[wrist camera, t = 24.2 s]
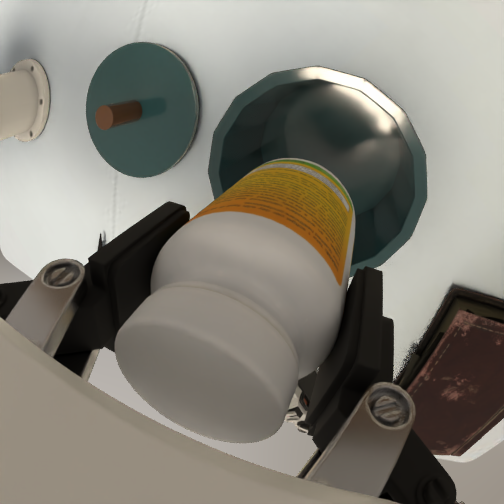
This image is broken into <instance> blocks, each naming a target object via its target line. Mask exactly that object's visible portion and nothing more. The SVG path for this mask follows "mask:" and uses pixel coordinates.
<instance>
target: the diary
mask: <svg viewBox="0 0 504 504" xmlns="http://www.w3.org/2000/svg"><path fill="white" fill-rule="evenodd" d="M393 384H395V385H397V386H400V387H401V388H402V389H404V390H405V391H406V392H407V393H408V394H409V395H410V397H411V398H412V400H413V402H414V404H415V409H416V416H415V421H414V423H413V426H412V429H413V430H414V431H415V433H416V434H417V435H418V436H419V438H420V439H421V440H422V441H423V443H424V444H425V445H426V446H427V448H428V449H429V450H430V452H431V453H432V454H433V455H450V454H451V455H452V456H461V455H462V454H464V453H465V452H466V451H467V450H468V449H469V448H470V447H472V446H473V445H474V444H475V443H476V442H477V441H478V440H479V439H481V438H482V437H483V436H484V435H485V434H486V433H487V432H488V431H489V430H491V429H492V428H493V427H494V426H495V425H496V424H498V423H499V422H500V421H501V420H502V419H503V418H504V301H502V300H499V299H496V298H492V297H489V296H486V295H482V294H478V293H475V292H471V291H467V290H464V289H460V288H453V289H452V290H451V292H450V293H449V294H448V296H447V298H446V300H445V302H444V303H443V305H442V307H441V309H440V310H439V312H438V314H437V315H436V317H435V319H434V321H433V322H432V324H431V325H430V327H429V329H428V330H427V332H426V334H425V336H424V337H423V339H422V341H421V343H420V344H419V346H418V348H417V349H416V351H415V353H414V354H413V353H412V355H411V358H410V360H409V363H408V364H407V366H406V367H405V369H404V370H403V371H402V373H401V374H400V375H399V376H398V378H397V379H396V380H395V382H394V383H393Z"/></svg>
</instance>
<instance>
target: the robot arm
mask: <svg viewBox="0 0 504 504" xmlns="http://www.w3.org/2000/svg"><path fill="white" fill-rule="evenodd" d="M49 101H50V96H49V86H48V81H47V77H46V74H45V72H44V70H43V68H42V66H41V65H40V64H39V63H38V62H37V61H35V60H33V59H25V60H21V61H19V62H18V63H16V64H15V65H14V67H13V68H12V69H11V71H10V72H8V73H3V74H0V141H1V140H3V139H6V138H9V137H12V136H14V137H15V138H17V139H18V140H19V141H22V142H28V141H31V140H33V139H35V138H37V137H38V136H39V135H40V133H41V132H42V130H43V128H44V126H45V123H46V120H47V117H48V111H49ZM189 219H190V214H189V212H188V211H186V207H185V206H183V205H180V204H177V203H174V202H170V201H169V202H167V203H165V204H164V205H162V206H161V207H159V208H158V209H156V210H155V211H153V212H152V213H150V214H149V215H147V216H146V217H144V218H143V219H142V220H140V221H139V222H137V223H136V224H134V225H133V226H132V227H130V228H129V229H127V230H126V231H124V232H123V233H122V234H120V235H119V236H117V237H116V238H115V239H113V240H112V241H111V242H109V243H108V244H106V245H105V246H104V247H102V248H101V249H100V250H98V251H97V252H96V253H94V254H93V255H92V256H90V257H89V258H88V260H89V262H88V263H87V264H86V265H85V266H83V264H81V263H80V262H79V261H76V260H73V259H58V260H55V261H52V262H50V263H49V264H47V265H46V266H45V267H43V268H42V270H41V271H40V272H39V273H38V275H37V276H36V277H35V279H34V280H31V281H23V282H14V283H5V284H0V504H465V503H464V502H463V501H461V502H460V503H458V502H457V501H456V488H455V484H454V482H453V480H452V479H451V477H450V476H449V475H448V473H447V472H446V471H445V469H444V468H443V467H442V466H441V464H440V463H439V462H438V461H437V459H436V458H435V457H434V455H433V454H432V453H431V452H430V450H429V449H428V448H427V446H426V445H425V444H424V443H423V441H422V440H421V439H420V438H419V436H418V435H417V434H416V433H415V431H414V430H413V429H412V426H413V423H414V421H415V416H416V409H415V404H414V402H413V400H412V398H411V397H410V395H409V394H408V393H407V392H406V391H405V390H404V389H402V388H401V387H400V386H397V385H395V384H393V361H394V324H393V320H392V319H390V318H387V317H384V316H382V315H383V275H382V271H379V270H376V269H373V268H370V267H368V266H365V267H364V269H363V270H362V269H359V268H357V270H356V272H355V274H354V277H353V279H352V281H351V284H350V286H349V288H348V290H347V294H346V301H345V307H344V313H343V318H342V322H341V327H340V330H339V333H338V337H337V339H336V342H335V344H334V347H333V349H332V350H331V352H330V354H329V355H328V357H327V358H326V359H325V360H324V362H323V363H322V364H321V365H320V366H319V370H318V374H317V378H316V381H315V385H314V389H313V392H312V396H311V400H310V403H309V407H308V410H307V414H306V417H305V423H306V424H310V427H309V430H308V435H311V436H313V439H312V440H313V441H314V443H315V444H316V446H317V447H318V448H317V450H316V451H315V452H314V454H313V455H312V456H311V458H310V459H309V460H308V462H307V463H306V464H305V466H304V467H303V468H302V470H301V471H300V472H299V473H298V475H297V476H296V477H294V476H290V475H287V474H283V473H281V472H277V471H274V470H271V469H268V468H265V467H262V466H259V465H256V464H254V463H251V462H248V461H245V460H242V459H240V458H237V457H235V456H232V455H229V454H227V453H224V452H222V451H219V450H217V449H214V448H212V447H210V446H208V445H205V444H203V443H201V442H198V441H196V440H194V439H192V438H189V437H187V436H185V435H183V434H181V433H179V432H176V431H174V430H172V429H170V428H168V427H166V426H164V425H162V424H160V423H158V422H156V421H154V420H152V419H150V418H148V417H147V416H145V415H143V414H141V413H139V412H137V411H135V410H134V409H132V408H130V407H128V406H127V405H125V404H123V403H121V402H119V401H118V400H116V399H115V398H113V397H111V396H109V395H108V394H106V393H105V392H103V391H101V390H100V389H98V388H96V387H95V386H93V385H92V384H90V383H89V382H88V379H89V377H90V374H91V372H92V369H93V367H94V364H95V361H96V359H97V356H98V354H99V350H100V349H102V348H103V347H106V348H108V349H109V350H111V351H113V352H115V339H116V336H117V333H118V331H119V329H120V328H121V327H122V326H123V324H124V323H125V322H126V321H127V320H128V319H129V317H130V316H131V315H132V314H133V313H134V312H135V311H136V309H137V308H138V307H139V306H140V305H141V304H142V303H143V302H144V300H145V299H146V298H147V297H149V296H150V295H151V275H152V270H153V266H154V263H155V261H156V258H157V256H158V254H159V252H160V250H161V249H162V248H163V246H164V245H165V244H166V242H167V241H168V240H169V239H170V238H171V237H172V236H173V235H174V234H175V233H176V232H177V231H178V230H179V229H180V228H181V227H182V226H184V225H185V224H186V223H187V222H188V221H189Z"/></svg>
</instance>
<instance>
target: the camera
mask: <svg viewBox="0 0 504 504" xmlns="http://www.w3.org/2000/svg"><path fill="white" fill-rule="evenodd" d="M317 374H318V371H317V370H316V369H315V370H314V371H313V372H311V373H310V374H308V375H307V376H305V377H303V378H301V379H299V380H298V385H297V388H296V391H295V393H294V395H293V398H292V400H291V403H290V406H289V409H288V411H287V414H286V417H285V419H284V420H286V421H287V422H293V423H294V424H295V426H296V427H297V428H298V430H299V431H300V432H304V433H306V432H308V430H309V427H310V424H306V423H305V417H306V414H307V410H308V407H309V403H310V400H311V396H312V392H313V389H314V385H315V381H316V378H317Z"/></svg>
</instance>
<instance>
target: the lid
mask: <svg viewBox="0 0 504 504" xmlns="http://www.w3.org/2000/svg"><path fill="white" fill-rule="evenodd" d="M198 114H199V103H198V95H197V90H196V86H195V83H194V80H193V78H192V76H191V73H190V72H189V70H188V68H187V67H186V65H185V64H184V63H183V61H182V60H181V59H180V58H179V57H178V56H177V55H176V54H175V53H174V52H172V51H171V50H169V49H167V48H165V47H163V46H161V45H158V44H154V43H146V42H138V43H131V44H128V45H125V46H123V47H120V48H119V49H117V50H115V51H114V52H112V53H111V54H110V55H109V56H107V58H106V59H105V60H104V61H103V62H102V63H101V64H100V66H99V67H98V69H97V70H96V72H95V74H94V76H93V78H92V80H91V83H90V86H89V89H88V94H87V101H86V118H87V125H88V129H89V133H90V136H91V138H92V141H93V143H94V145H95V147H96V149H97V150H98V152H99V153H100V155H101V156H102V157H103V158H104V160H105V161H106V162H107V163H108V164H109V165H111V166H112V167H113V168H114V169H116V170H117V171H119V172H121V173H123V174H126V175H128V176H132V177H139V178H146V177H152V176H156V175H159V174H161V173H163V172H165V171H167V170H169V169H170V168H172V167H173V166H174V165H175V164H177V163H178V162H179V161H180V160H181V158H182V157H183V156H184V155H185V153H186V152H187V150H188V149H189V147H190V145H191V143H192V140H193V138H194V135H195V132H196V128H197V123H198Z"/></svg>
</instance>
